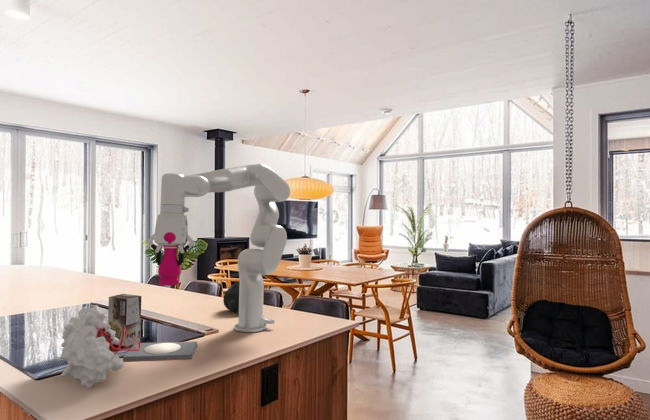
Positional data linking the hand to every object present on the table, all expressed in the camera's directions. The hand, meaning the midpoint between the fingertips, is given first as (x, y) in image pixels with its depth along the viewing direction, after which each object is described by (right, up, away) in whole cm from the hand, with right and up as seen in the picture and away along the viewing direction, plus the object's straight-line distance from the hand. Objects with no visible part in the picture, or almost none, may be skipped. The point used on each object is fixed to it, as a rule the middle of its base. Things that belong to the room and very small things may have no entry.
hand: (169, 264), depth 141 cm
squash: (+12, -30, +57) cm, 65 cm away
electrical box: (-18, -28, +5) cm, 34 cm away
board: (-1, -28, -4) cm, 28 cm away
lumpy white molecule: (-12, -28, -24) cm, 39 cm away
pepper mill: (0, -7, 0) cm, 7 cm away
